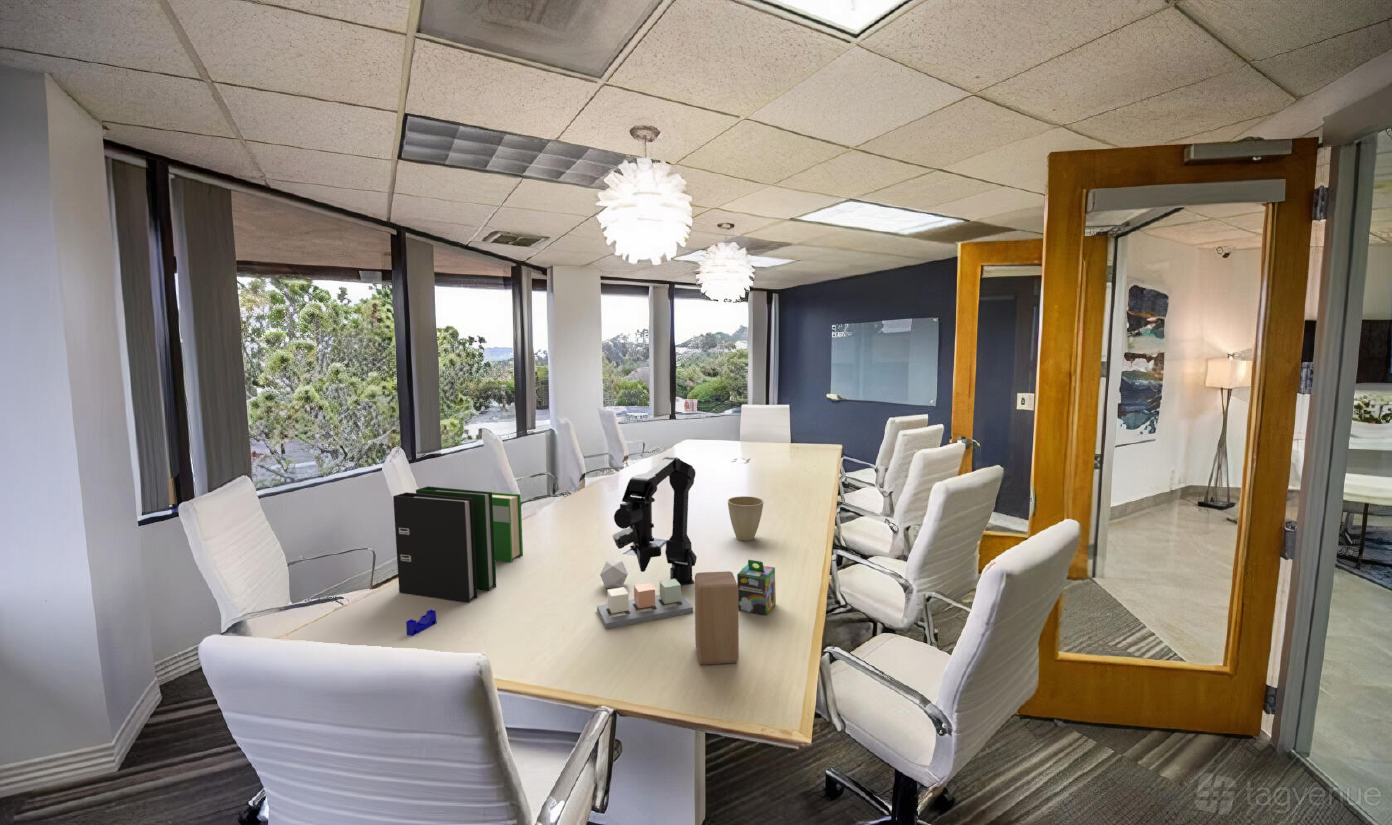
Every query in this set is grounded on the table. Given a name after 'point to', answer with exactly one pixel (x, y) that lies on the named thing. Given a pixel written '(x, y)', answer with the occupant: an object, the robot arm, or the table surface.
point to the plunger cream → (618, 600)
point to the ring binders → (445, 543)
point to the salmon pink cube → (644, 595)
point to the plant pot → (745, 516)
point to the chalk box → (756, 588)
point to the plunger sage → (670, 591)
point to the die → (614, 574)
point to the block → (716, 618)
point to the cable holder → (421, 623)
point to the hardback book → (507, 526)
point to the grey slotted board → (643, 613)
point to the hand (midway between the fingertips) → (642, 571)
